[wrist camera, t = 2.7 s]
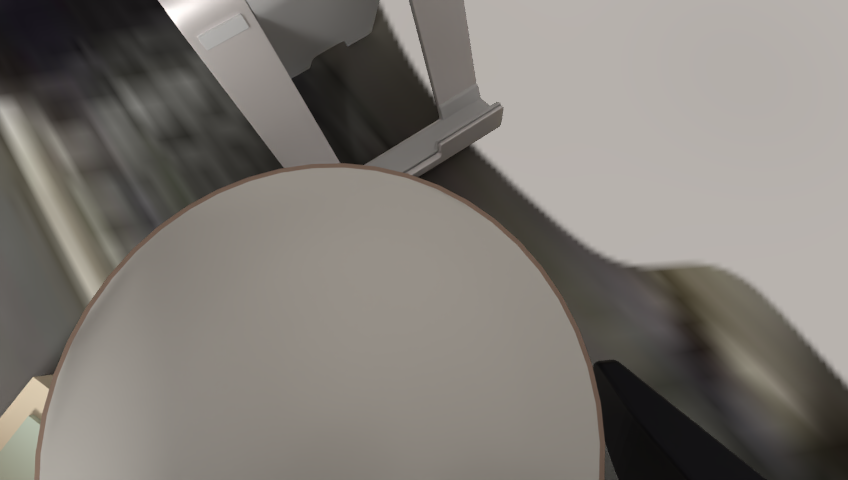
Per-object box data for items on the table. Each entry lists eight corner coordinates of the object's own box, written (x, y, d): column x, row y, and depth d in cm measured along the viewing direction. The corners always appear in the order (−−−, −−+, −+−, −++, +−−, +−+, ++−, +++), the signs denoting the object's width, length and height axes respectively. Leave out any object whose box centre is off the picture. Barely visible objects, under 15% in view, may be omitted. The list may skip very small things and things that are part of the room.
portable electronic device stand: (333, 237, 18) (254, 159, 10) (246, 99, 19) (114, -71, 11) (497, 134, 19) (550, -15, 11) (402, 10, 20) (386, -206, 12)
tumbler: (422, 458, 16) (400, 955, 3) (306, 376, 17) (-90, 522, 4) (495, 333, 17) (701, 341, 4) (383, 261, 18) (266, 79, 5)
